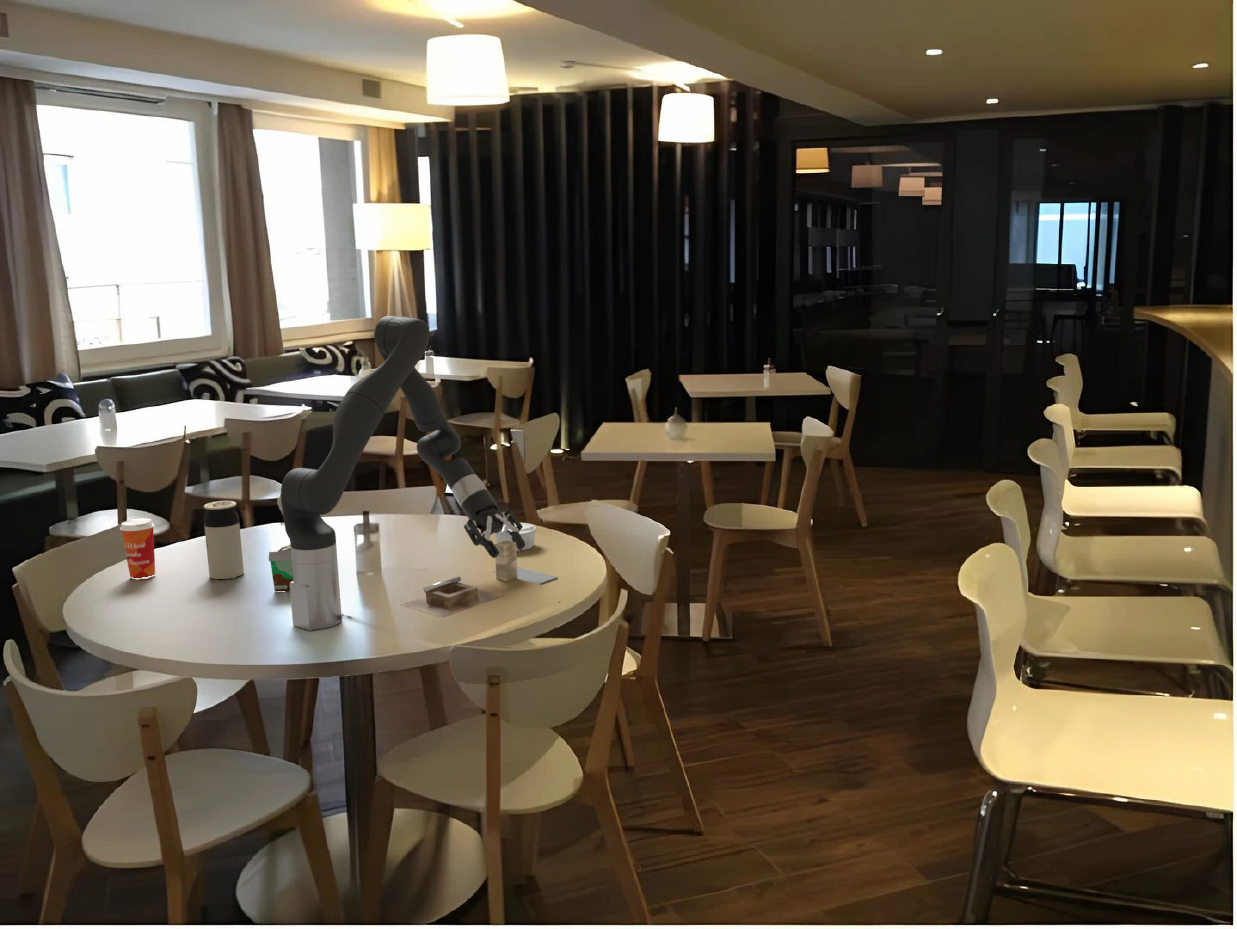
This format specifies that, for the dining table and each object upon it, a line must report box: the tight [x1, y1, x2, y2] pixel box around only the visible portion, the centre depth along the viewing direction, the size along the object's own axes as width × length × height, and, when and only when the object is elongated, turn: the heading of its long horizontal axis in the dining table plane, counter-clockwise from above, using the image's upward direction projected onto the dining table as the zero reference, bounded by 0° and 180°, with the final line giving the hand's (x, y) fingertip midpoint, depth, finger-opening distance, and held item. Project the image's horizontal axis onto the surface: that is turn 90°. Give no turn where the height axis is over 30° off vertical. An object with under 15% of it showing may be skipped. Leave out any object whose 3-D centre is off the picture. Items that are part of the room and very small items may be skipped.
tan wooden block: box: [494, 541, 518, 582], centre depth 253 cm, size 4×3×9 cm
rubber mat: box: [491, 566, 559, 585], centre depth 254 cm, size 18×16×1 cm
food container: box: [268, 544, 293, 592], centre depth 253 cm, size 12×6×10 cm, turn 168°
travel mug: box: [203, 500, 245, 580], centre depth 262 cm, size 8×8×18 cm
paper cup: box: [119, 517, 156, 578], centre depth 263 cm, size 8×8×14 cm
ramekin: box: [493, 522, 537, 552], centre depth 284 cm, size 11×11×5 cm
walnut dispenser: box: [400, 576, 504, 618], centre depth 238 cm, size 18×14×5 cm
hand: (509, 551), depth 252 cm, fingers open, 8 cm apart
